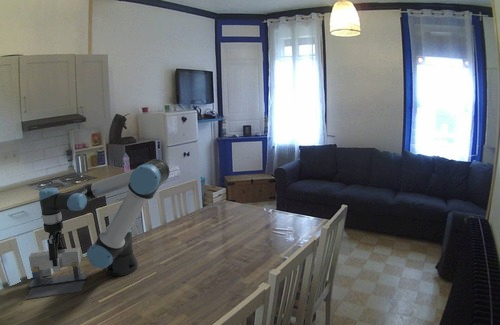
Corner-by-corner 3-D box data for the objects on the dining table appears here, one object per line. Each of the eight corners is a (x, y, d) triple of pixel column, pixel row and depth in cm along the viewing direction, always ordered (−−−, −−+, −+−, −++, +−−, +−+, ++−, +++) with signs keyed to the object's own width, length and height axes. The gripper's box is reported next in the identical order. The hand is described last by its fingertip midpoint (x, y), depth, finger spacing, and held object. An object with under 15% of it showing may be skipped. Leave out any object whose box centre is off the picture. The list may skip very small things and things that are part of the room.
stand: (87, 274, 166) (85, 256, 164) (85, 280, 160) (82, 262, 158) (32, 281, 160) (29, 263, 158) (27, 289, 154) (24, 270, 152)
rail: (80, 260, 163) (79, 247, 161) (79, 264, 159) (77, 251, 157) (34, 266, 158) (31, 253, 156) (31, 271, 154) (28, 257, 152)
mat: (84, 281, 159) (84, 280, 159) (81, 291, 152) (81, 290, 152) (32, 289, 154) (32, 288, 154) (25, 299, 146) (25, 298, 146)
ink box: (32, 278, 163) (28, 255, 160) (35, 273, 167) (31, 251, 165) (51, 275, 165) (48, 253, 162) (54, 270, 170) (51, 248, 167)
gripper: (50, 214, 163) (56, 258, 167) (36, 231, 143) (43, 280, 148) (67, 213, 164) (73, 256, 169) (55, 229, 145) (62, 277, 150)
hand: (59, 267), depth 159 cm, fingers open, 8 cm apart
